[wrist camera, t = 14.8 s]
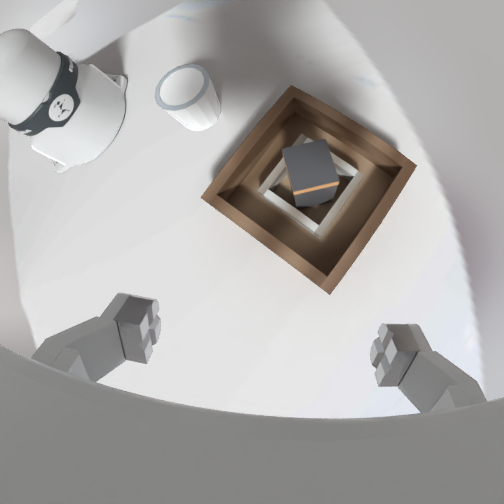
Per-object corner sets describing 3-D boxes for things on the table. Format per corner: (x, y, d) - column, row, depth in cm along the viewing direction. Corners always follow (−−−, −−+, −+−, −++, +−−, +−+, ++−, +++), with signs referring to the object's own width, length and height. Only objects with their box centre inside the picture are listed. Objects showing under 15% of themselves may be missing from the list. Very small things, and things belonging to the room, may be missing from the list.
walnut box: (215, 207, 35) (200, 197, 30) (293, 106, 34) (290, 85, 29) (326, 291, 32) (329, 294, 27) (403, 179, 31) (416, 165, 26)
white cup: (168, 113, 38) (145, 89, 31) (208, 84, 37) (190, 54, 30) (193, 145, 36) (170, 121, 30) (235, 112, 36) (221, 83, 29)
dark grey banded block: (296, 210, 33) (293, 191, 25) (288, 176, 33) (281, 148, 25) (332, 201, 32) (339, 180, 24) (322, 168, 32) (325, 138, 24)
